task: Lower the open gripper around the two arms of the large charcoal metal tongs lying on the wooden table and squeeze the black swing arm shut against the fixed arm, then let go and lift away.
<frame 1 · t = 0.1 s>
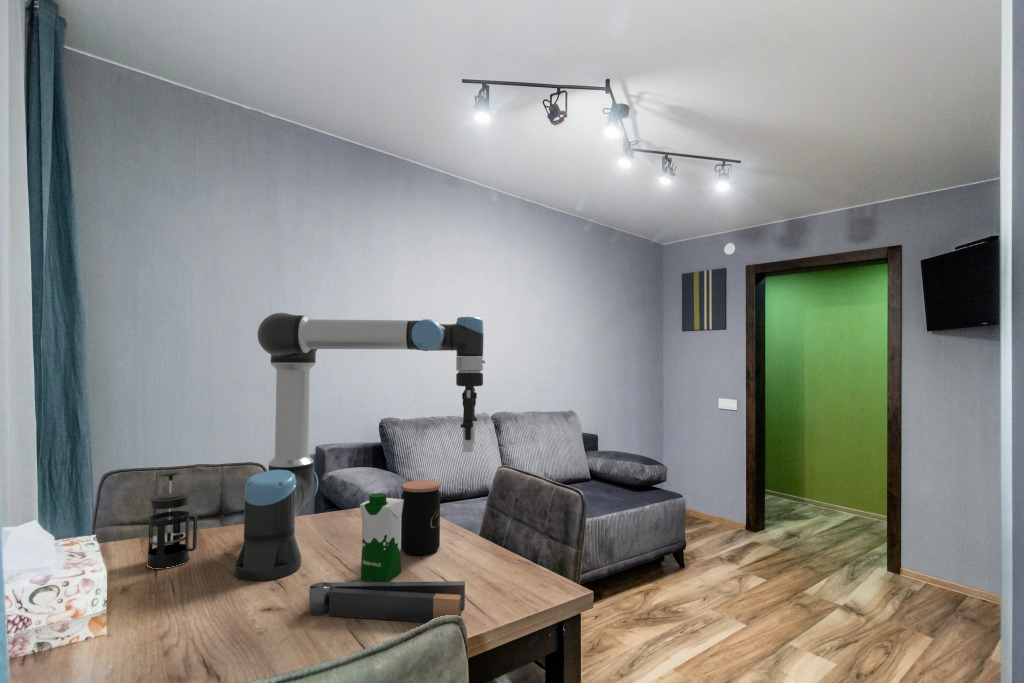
hand: (469, 448, 151), 28 cm above the table, fingers open, 13 cm apart
coffee jar: (420, 550, 149), on the table
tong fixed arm: (320, 610, 112), on the table
french press: (170, 563, 139), on the table
milk carton: (381, 577, 131), on the table
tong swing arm: (394, 605, 109), point 3 cm above the table, hinge at -9.0°
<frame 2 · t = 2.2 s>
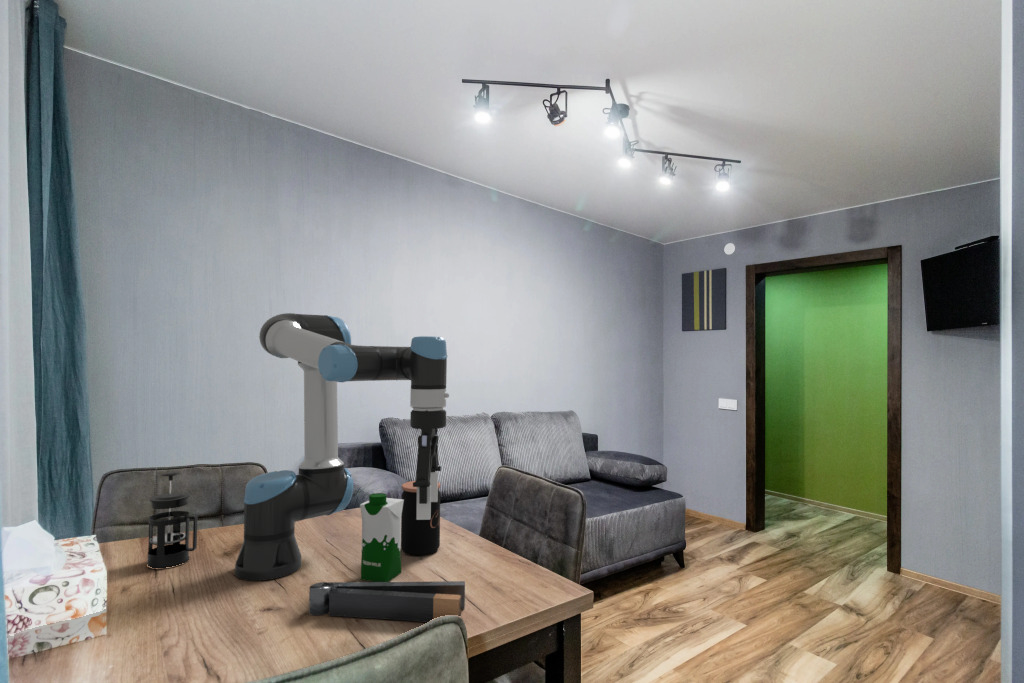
hand: (427, 510, 114), 21 cm above the table, fingers open, 13 cm apart
nothing on the table moved.
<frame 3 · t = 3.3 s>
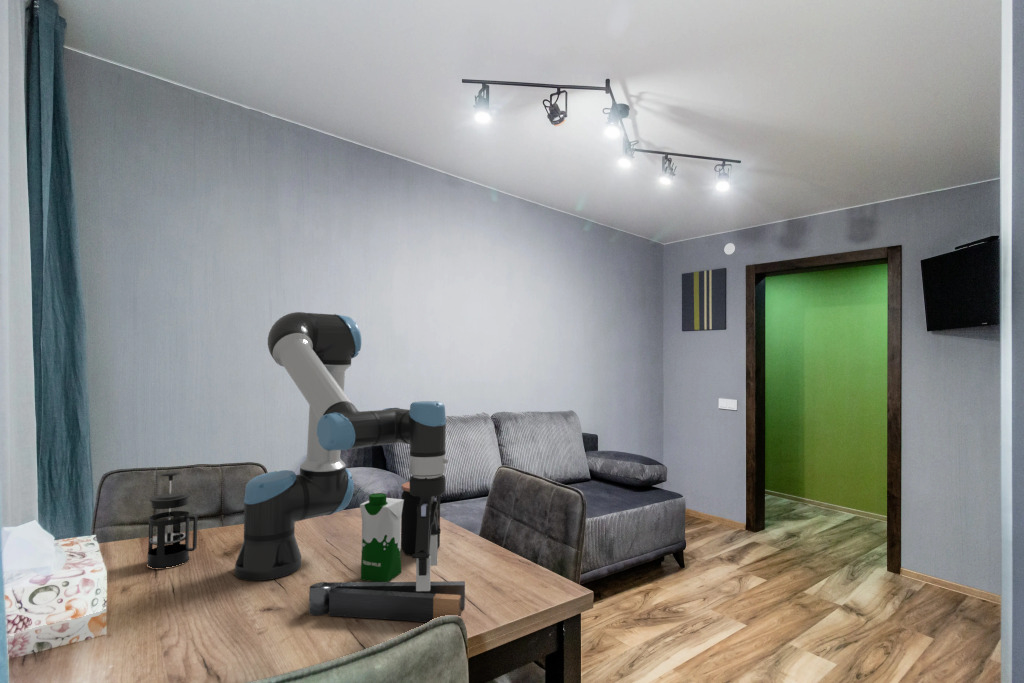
hand: (427, 577, 113), 7 cm above the table, fingers open, 13 cm apart
nothing on the table moved.
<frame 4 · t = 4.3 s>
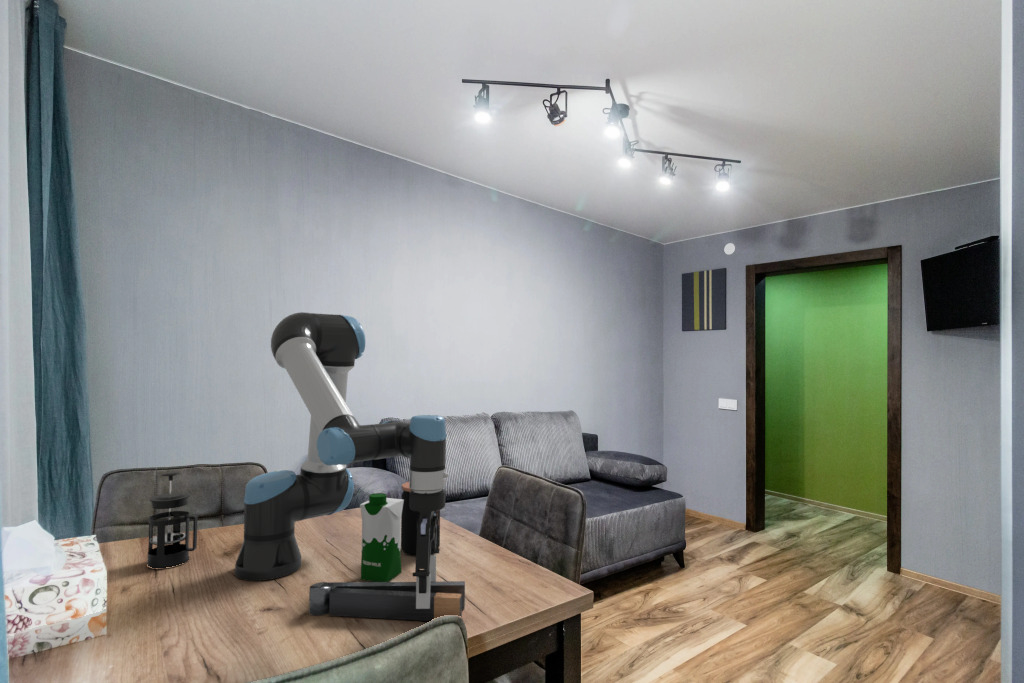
hand: (426, 596, 113), 3 cm above the table, fingers open, 10 cm apart
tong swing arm: (395, 604, 110), point 3 cm above the table, hinge at -7.9°, touching gripper
everything else where it was.
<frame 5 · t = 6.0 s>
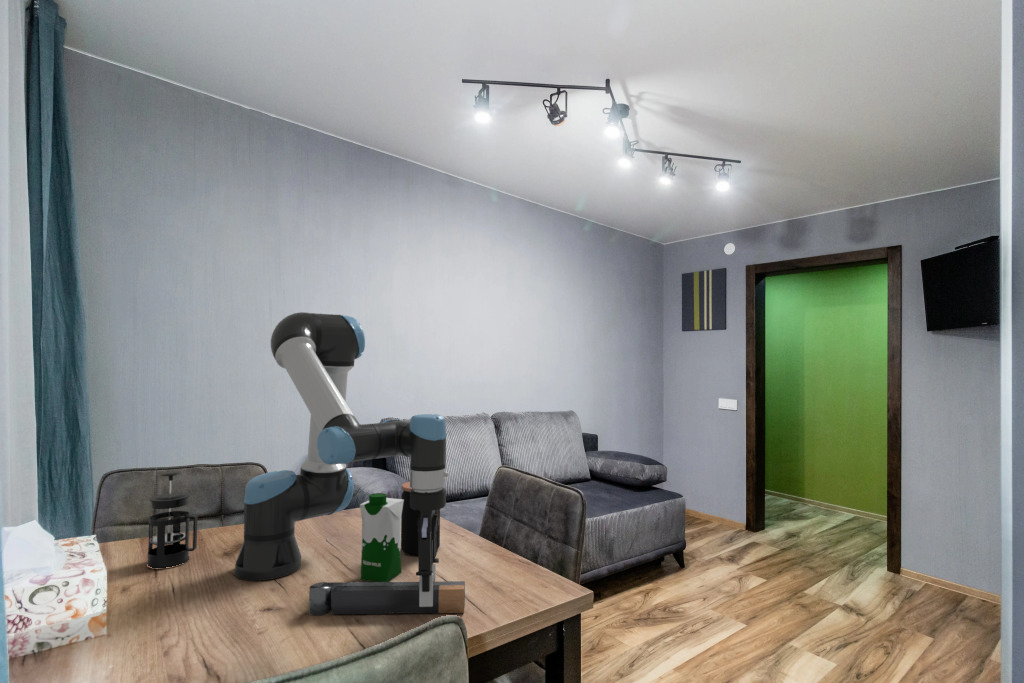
hand: (427, 600, 113), 2 cm above the table, fingers open, 4 cm apart
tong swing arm: (399, 599, 112), point 3 cm above the table, hinge at 0.4°, touching gripper
everything else where it was.
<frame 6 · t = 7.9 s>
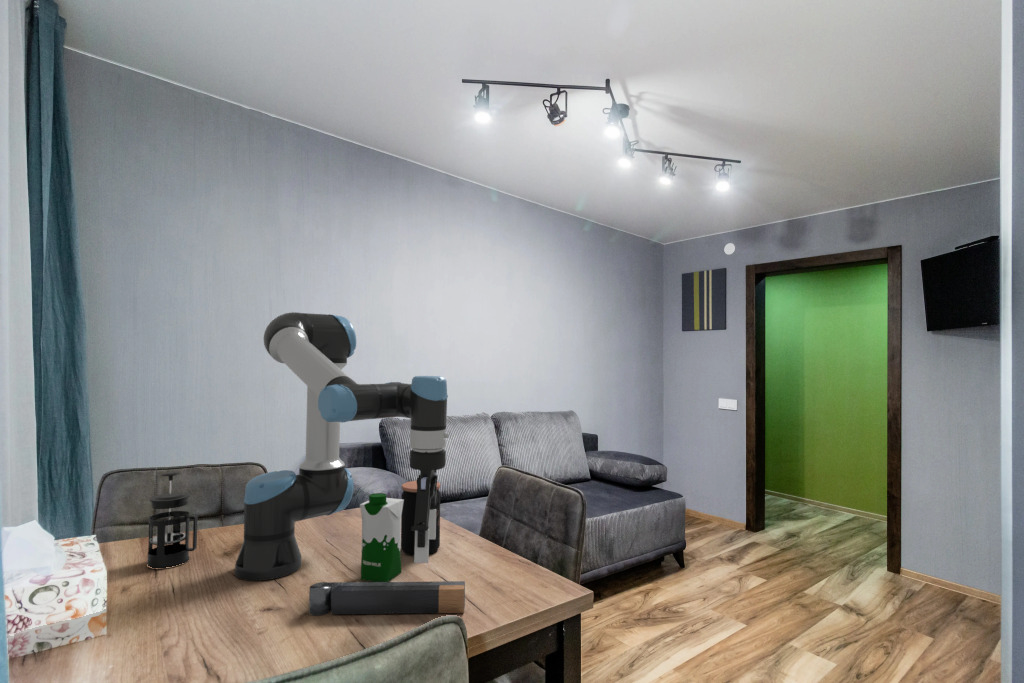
hand: (425, 550, 114), 12 cm above the table, fingers open, 13 cm apart
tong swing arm: (399, 599, 112), point 3 cm above the table, hinge at 0.3°
everything else where it was.
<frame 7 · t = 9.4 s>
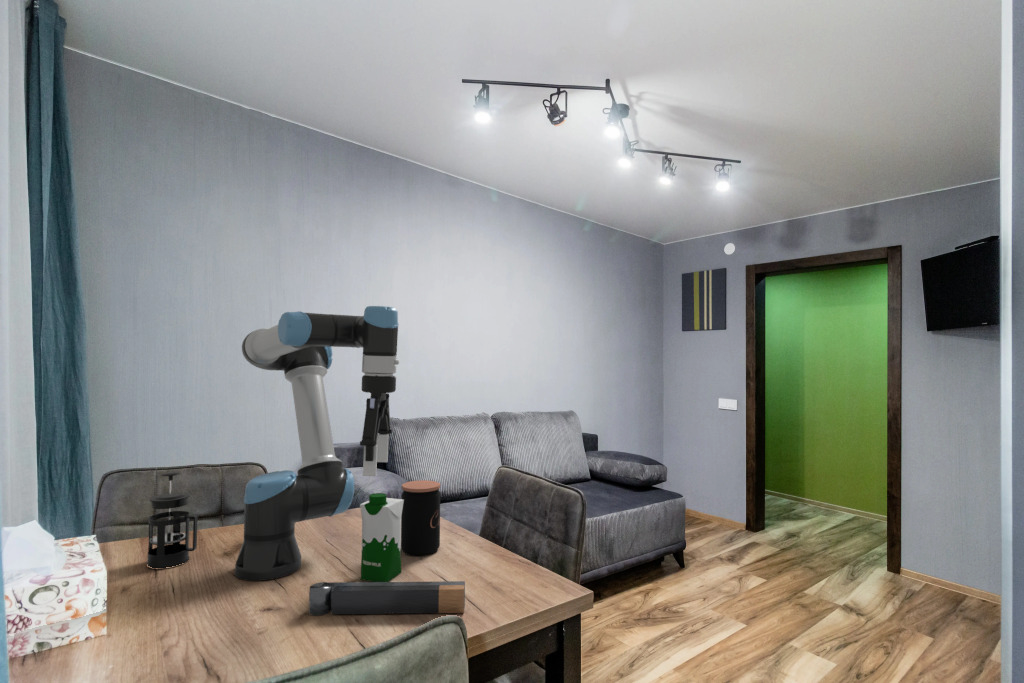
hand: (376, 468, 122), 28 cm above the table, fingers open, 13 cm apart
nothing on the table moved.
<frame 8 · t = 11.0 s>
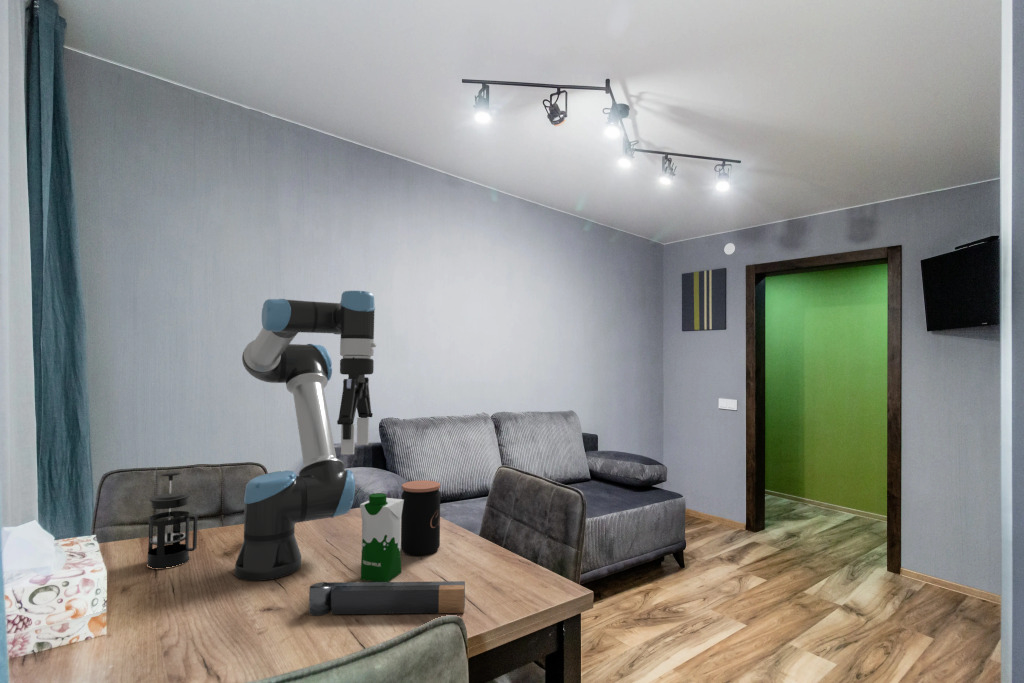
hand: (355, 449, 125), 32 cm above the table, fingers open, 13 cm apart
nothing on the table moved.
at the end: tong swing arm at +0° (first picture: -9°); the gripper is holding nothing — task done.
